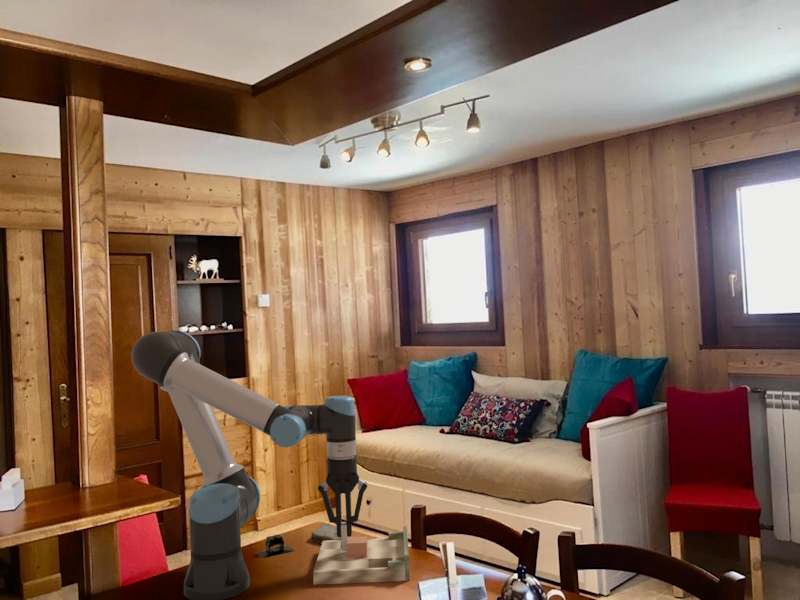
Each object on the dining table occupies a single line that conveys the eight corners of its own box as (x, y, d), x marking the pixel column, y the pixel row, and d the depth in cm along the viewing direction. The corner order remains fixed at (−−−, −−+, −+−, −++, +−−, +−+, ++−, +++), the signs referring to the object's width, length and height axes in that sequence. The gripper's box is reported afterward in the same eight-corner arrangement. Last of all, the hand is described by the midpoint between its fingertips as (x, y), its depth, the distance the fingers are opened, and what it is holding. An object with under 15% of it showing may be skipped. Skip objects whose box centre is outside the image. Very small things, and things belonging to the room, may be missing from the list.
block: (347, 557, 165) (346, 543, 165) (348, 550, 170) (348, 537, 170) (367, 556, 165) (366, 542, 165) (367, 549, 170) (367, 536, 170)
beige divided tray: (313, 584, 156) (312, 559, 157) (323, 551, 178) (322, 529, 179) (409, 580, 157) (408, 555, 157) (407, 548, 179) (406, 526, 179)
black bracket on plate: (257, 562, 174) (257, 545, 174) (248, 554, 180) (248, 538, 180) (301, 552, 180) (300, 535, 180) (291, 545, 186) (290, 529, 187)
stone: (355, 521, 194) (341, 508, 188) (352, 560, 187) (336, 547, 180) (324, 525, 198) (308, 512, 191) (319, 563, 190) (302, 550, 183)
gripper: (314, 460, 164) (317, 555, 164) (366, 458, 165) (369, 553, 164) (318, 454, 172) (321, 545, 171) (367, 452, 172) (370, 543, 171)
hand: (344, 549), depth 168 cm, fingers closed
